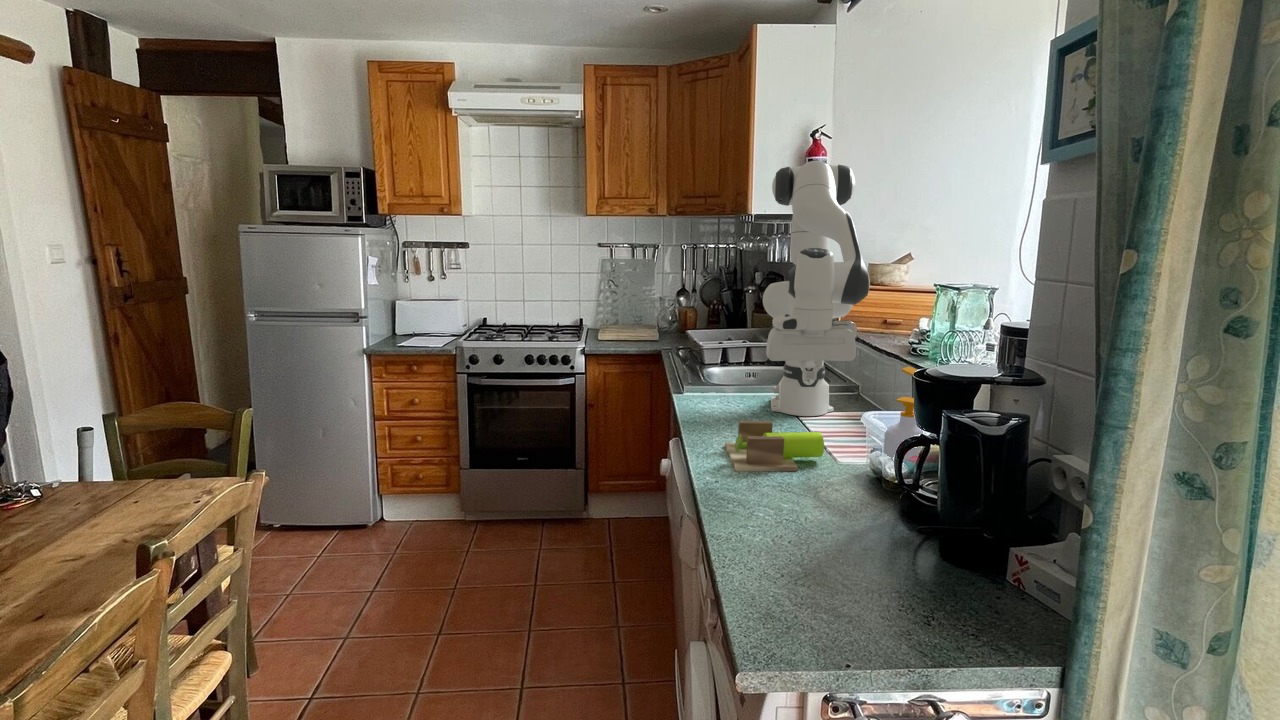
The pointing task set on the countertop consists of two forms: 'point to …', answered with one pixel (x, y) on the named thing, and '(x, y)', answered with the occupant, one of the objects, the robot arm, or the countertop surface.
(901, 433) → the soap bottle
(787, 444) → the soap dispenser
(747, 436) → the u rest
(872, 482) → the countertop surface
